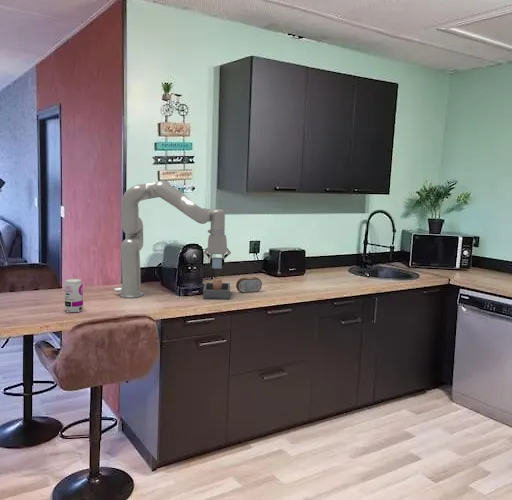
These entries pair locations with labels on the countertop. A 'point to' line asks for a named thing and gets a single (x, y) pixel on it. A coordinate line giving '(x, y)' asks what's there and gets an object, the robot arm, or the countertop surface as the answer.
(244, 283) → the tin
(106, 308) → the countertop surface
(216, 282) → the cylinder
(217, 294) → the tote
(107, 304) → the countertop surface
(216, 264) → the cube
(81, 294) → the supplement can
